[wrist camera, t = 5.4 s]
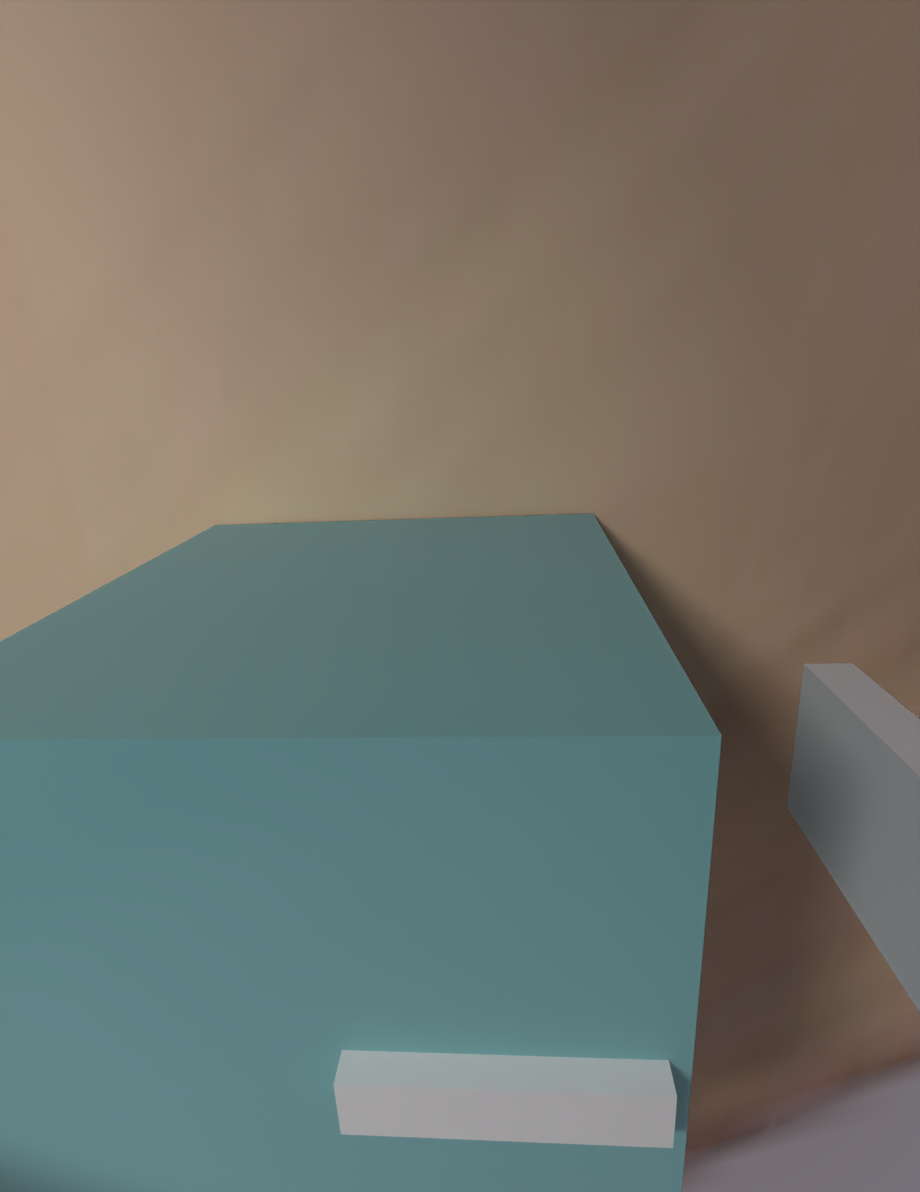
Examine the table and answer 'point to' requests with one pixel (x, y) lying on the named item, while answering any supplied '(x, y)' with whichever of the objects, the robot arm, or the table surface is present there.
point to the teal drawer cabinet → (353, 868)
